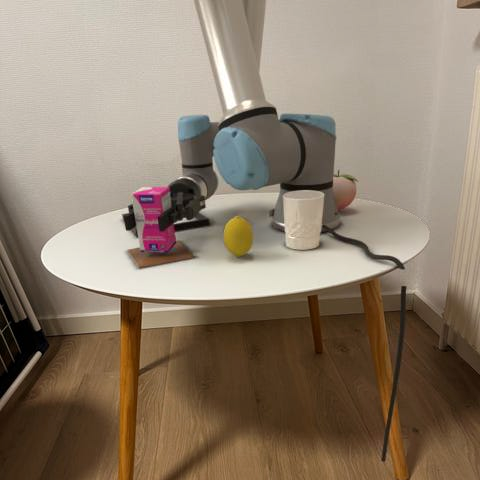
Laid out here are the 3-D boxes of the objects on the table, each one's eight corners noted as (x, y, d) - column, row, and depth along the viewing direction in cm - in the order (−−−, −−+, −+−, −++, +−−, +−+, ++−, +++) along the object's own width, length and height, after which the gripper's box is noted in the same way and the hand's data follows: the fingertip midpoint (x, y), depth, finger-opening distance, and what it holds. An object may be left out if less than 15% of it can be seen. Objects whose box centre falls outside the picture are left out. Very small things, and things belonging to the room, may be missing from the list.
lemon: (244, 264, 79) (242, 221, 75) (219, 259, 82) (216, 218, 78) (259, 254, 83) (257, 213, 79) (234, 251, 86) (232, 211, 82)
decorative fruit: (316, 216, 105) (317, 173, 100) (318, 207, 112) (320, 167, 107) (355, 216, 103) (359, 173, 98) (355, 208, 110) (359, 167, 105)
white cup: (321, 251, 83) (323, 199, 78) (280, 250, 85) (280, 199, 80) (322, 238, 90) (324, 189, 85) (285, 238, 91) (285, 190, 87)
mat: (194, 257, 84) (194, 255, 84) (138, 268, 80) (138, 266, 80) (178, 242, 93) (178, 240, 92) (127, 251, 89) (127, 249, 89)
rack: (209, 225, 103) (209, 218, 102) (136, 237, 97) (135, 231, 97) (187, 209, 118) (186, 204, 117) (122, 219, 112) (121, 214, 111)
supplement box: (139, 253, 84) (129, 193, 78) (150, 243, 89) (141, 186, 83) (168, 253, 83) (160, 193, 77) (177, 243, 88) (170, 186, 82)
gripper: (227, 211, 98) (194, 245, 78) (149, 210, 102) (100, 242, 82) (224, 177, 94) (190, 203, 74) (144, 177, 98) (92, 202, 79)
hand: (143, 223), depth 78 cm, fingers closed on supplement box, 6 cm apart
